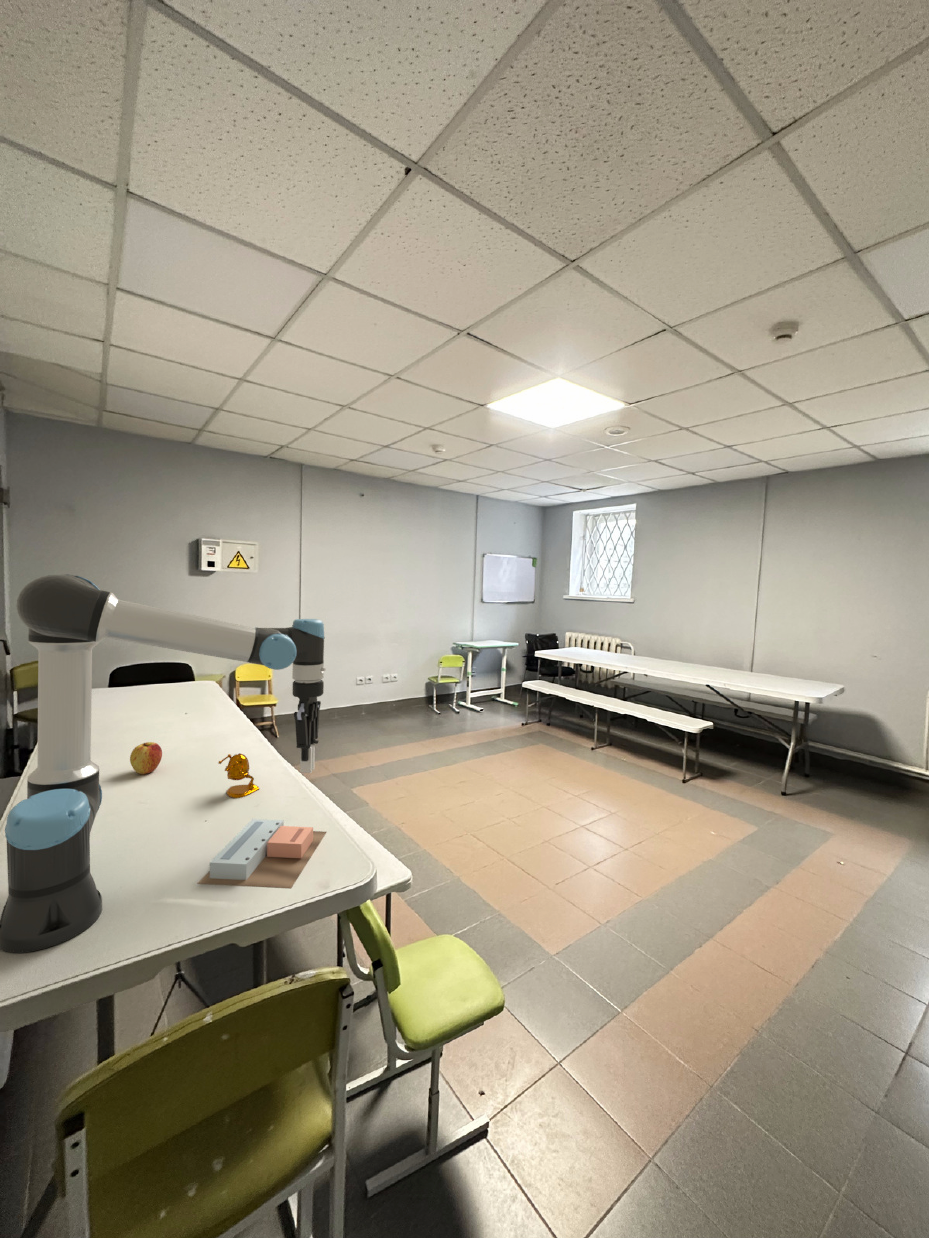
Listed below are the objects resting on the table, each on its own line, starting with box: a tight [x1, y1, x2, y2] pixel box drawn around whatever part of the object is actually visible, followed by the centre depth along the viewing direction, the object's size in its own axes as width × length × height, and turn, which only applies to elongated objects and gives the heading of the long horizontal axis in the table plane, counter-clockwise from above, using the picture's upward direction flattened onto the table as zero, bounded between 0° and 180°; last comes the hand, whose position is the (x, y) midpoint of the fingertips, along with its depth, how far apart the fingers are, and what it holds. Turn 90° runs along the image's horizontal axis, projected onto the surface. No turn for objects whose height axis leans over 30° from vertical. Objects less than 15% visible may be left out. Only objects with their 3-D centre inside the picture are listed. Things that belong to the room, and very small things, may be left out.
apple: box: [129, 741, 163, 775], centre depth 165 cm, size 9×9×10 cm
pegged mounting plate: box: [209, 818, 285, 880], centre depth 116 cm, size 20×8×4 cm, turn 178°
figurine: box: [217, 753, 260, 799], centre depth 152 cm, size 8×11×12 cm
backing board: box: [197, 830, 328, 889], centre depth 116 cm, size 24×20×1 cm
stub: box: [267, 825, 314, 858], centre depth 119 cm, size 8×8×4 cm
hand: (307, 770), depth 128 cm, fingers closed
